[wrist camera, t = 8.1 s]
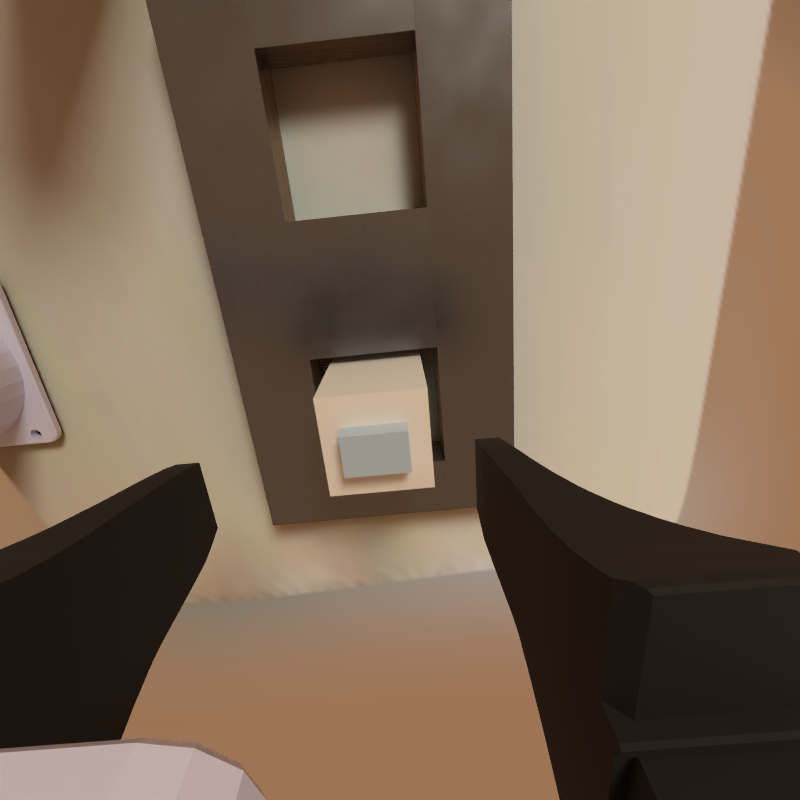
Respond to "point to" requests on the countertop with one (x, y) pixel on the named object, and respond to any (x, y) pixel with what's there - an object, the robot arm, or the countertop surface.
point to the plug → (375, 423)
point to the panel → (353, 228)
